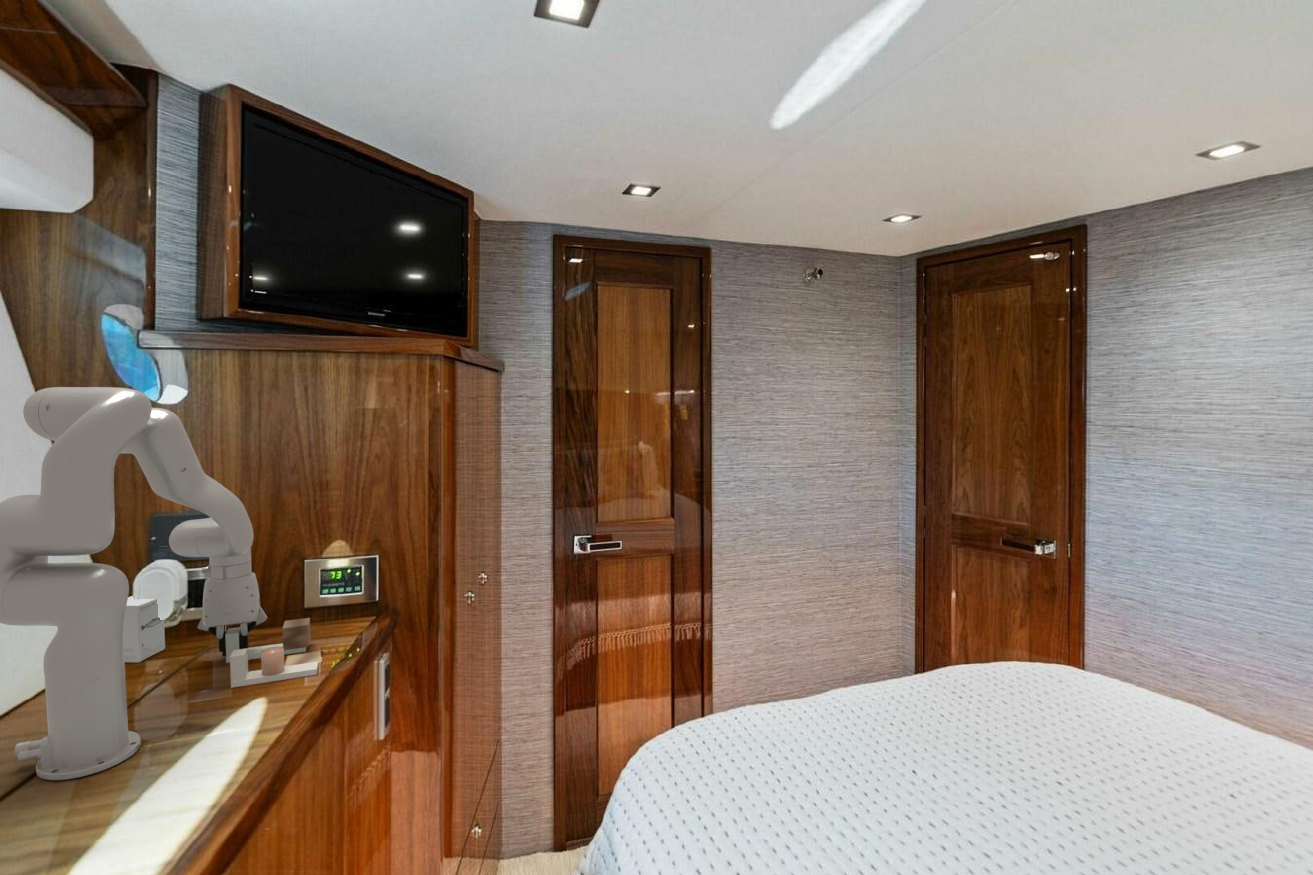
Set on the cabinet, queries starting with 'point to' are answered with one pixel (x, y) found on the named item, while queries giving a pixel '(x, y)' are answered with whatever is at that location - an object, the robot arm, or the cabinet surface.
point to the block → (296, 633)
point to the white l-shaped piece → (253, 652)
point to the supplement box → (142, 630)
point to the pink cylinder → (272, 661)
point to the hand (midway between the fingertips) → (234, 652)
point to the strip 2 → (244, 677)
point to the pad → (303, 658)
